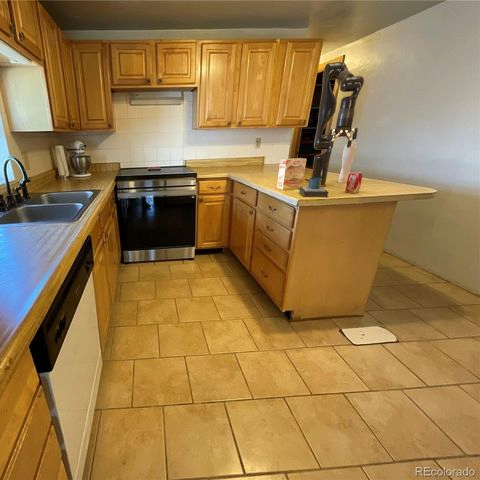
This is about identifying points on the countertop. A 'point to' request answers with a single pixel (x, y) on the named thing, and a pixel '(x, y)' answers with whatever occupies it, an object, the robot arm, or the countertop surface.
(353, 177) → the soda can
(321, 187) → the scale pan
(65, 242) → the countertop surface
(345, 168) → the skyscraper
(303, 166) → the coffeecake box
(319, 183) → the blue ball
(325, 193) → the scale
